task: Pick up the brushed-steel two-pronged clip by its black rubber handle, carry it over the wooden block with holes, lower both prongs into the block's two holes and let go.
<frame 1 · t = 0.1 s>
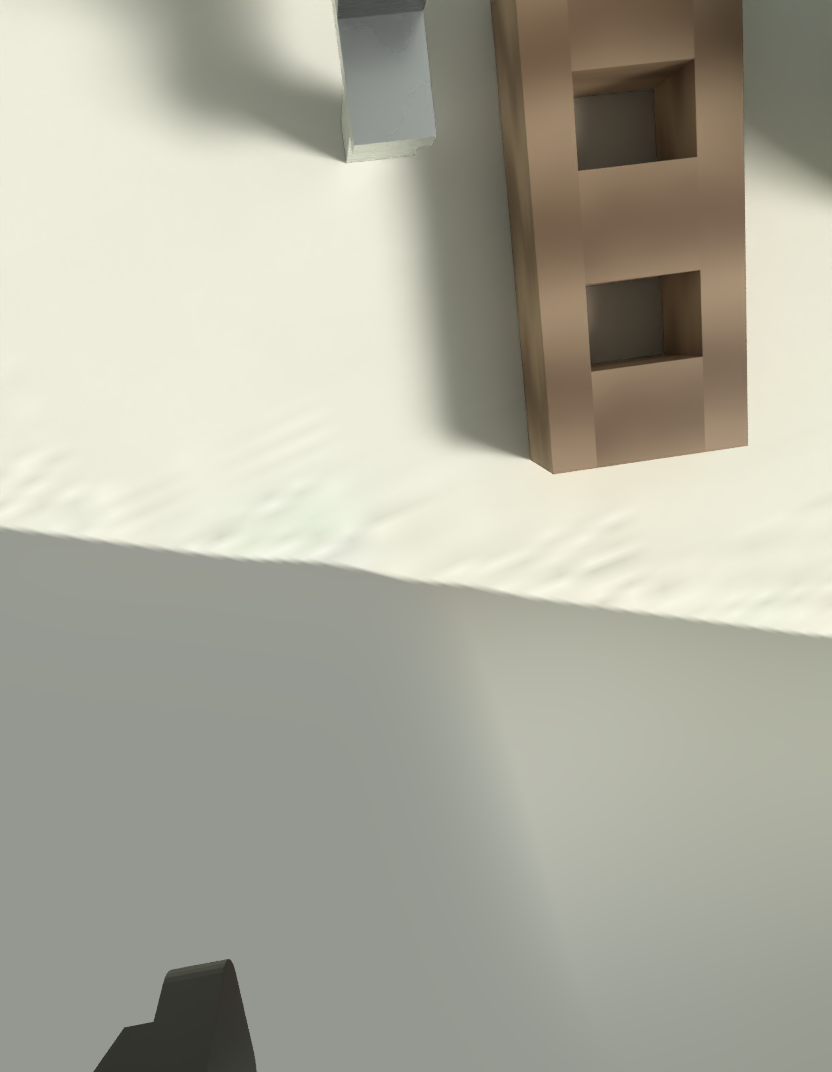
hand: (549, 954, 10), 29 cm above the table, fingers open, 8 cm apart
clip: (365, 36, 33), on the table
wooden block with holes: (607, 233, 36), on the table
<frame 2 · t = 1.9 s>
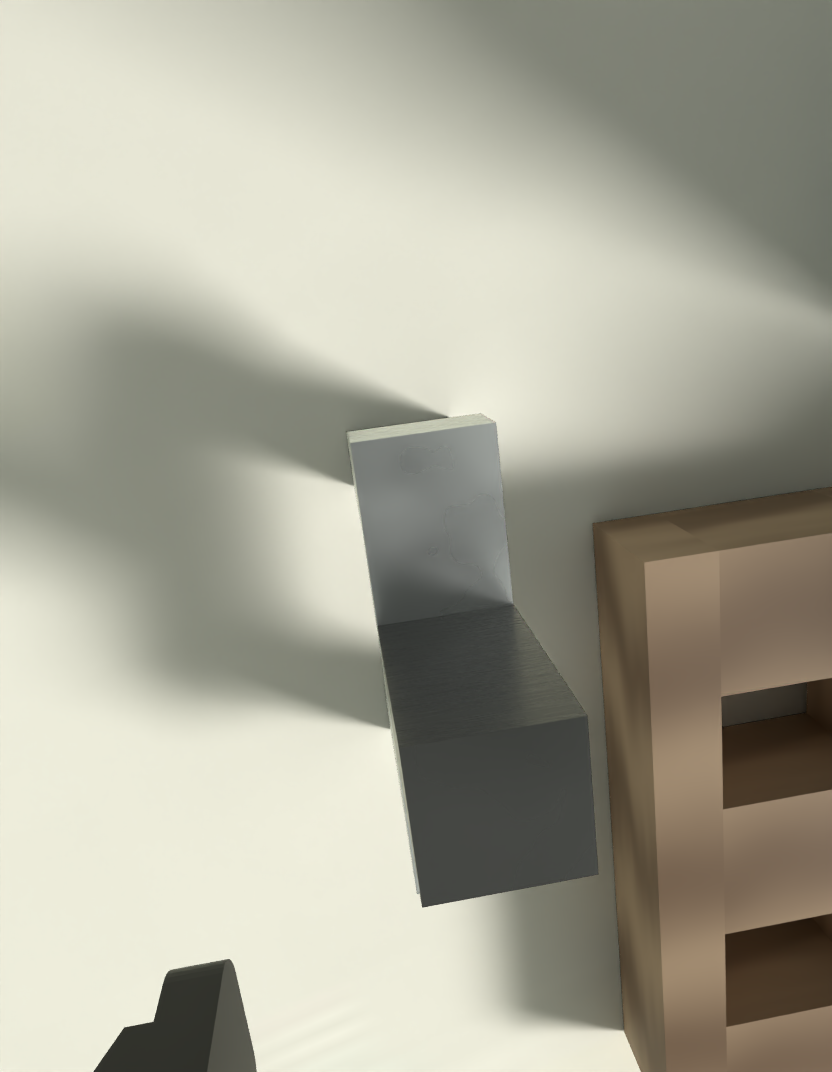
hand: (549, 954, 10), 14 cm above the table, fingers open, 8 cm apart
clip: (418, 581, 24), on the table
wooden block with holes: (736, 781, 27), on the table
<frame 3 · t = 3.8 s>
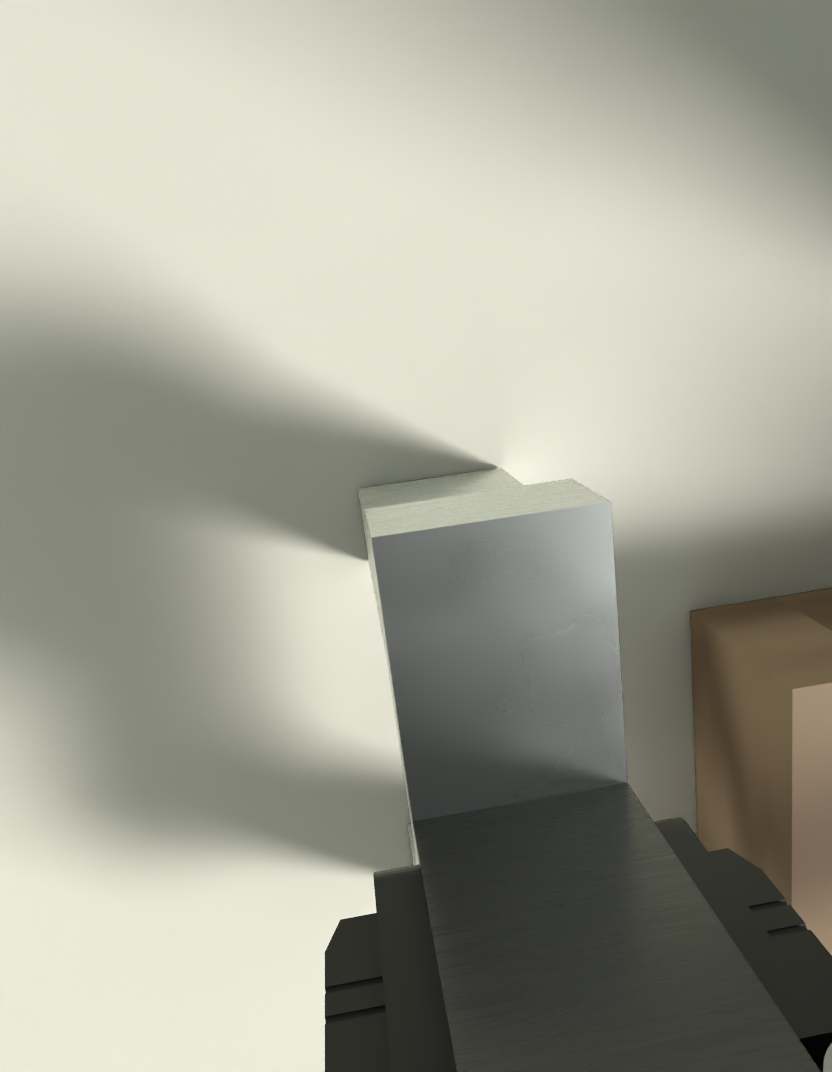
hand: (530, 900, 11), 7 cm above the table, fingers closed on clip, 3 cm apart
clip: (455, 688, 17), on the table, touching gripper
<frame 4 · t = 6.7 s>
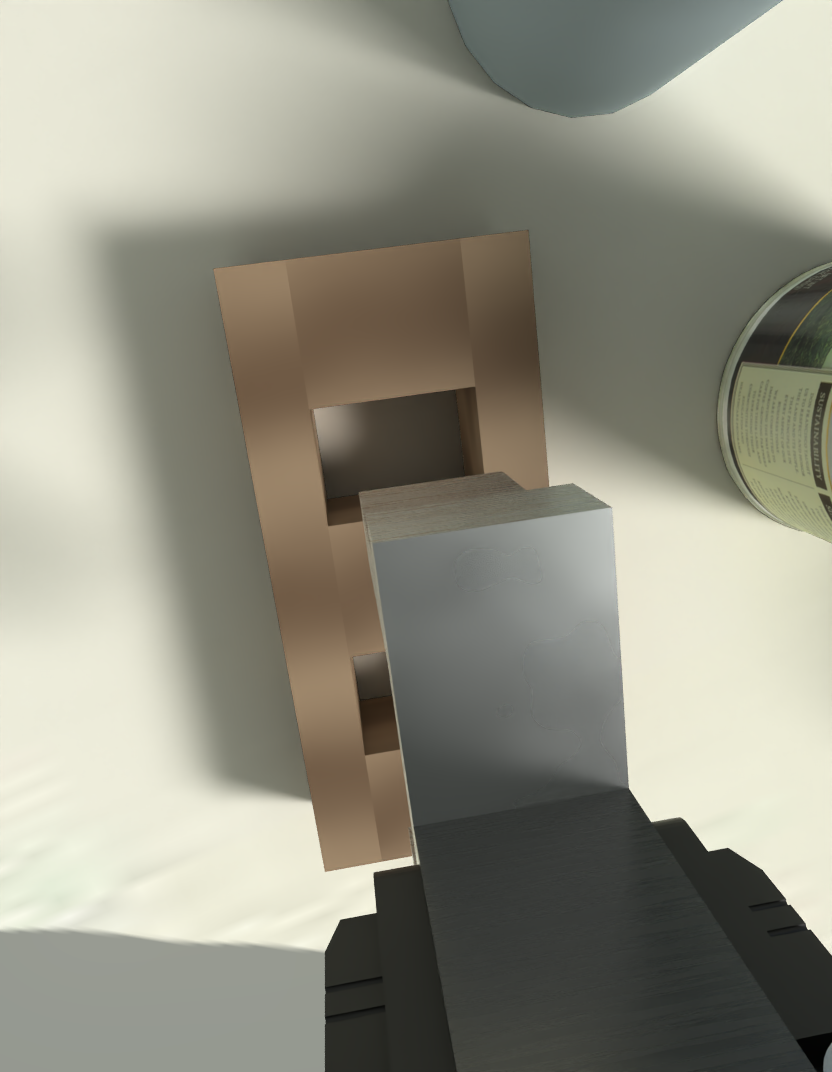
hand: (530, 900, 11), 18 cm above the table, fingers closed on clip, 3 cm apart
clip: (456, 691, 17), point 12 cm above the table, touching gripper
wooden block with holes: (404, 547, 29), on the table
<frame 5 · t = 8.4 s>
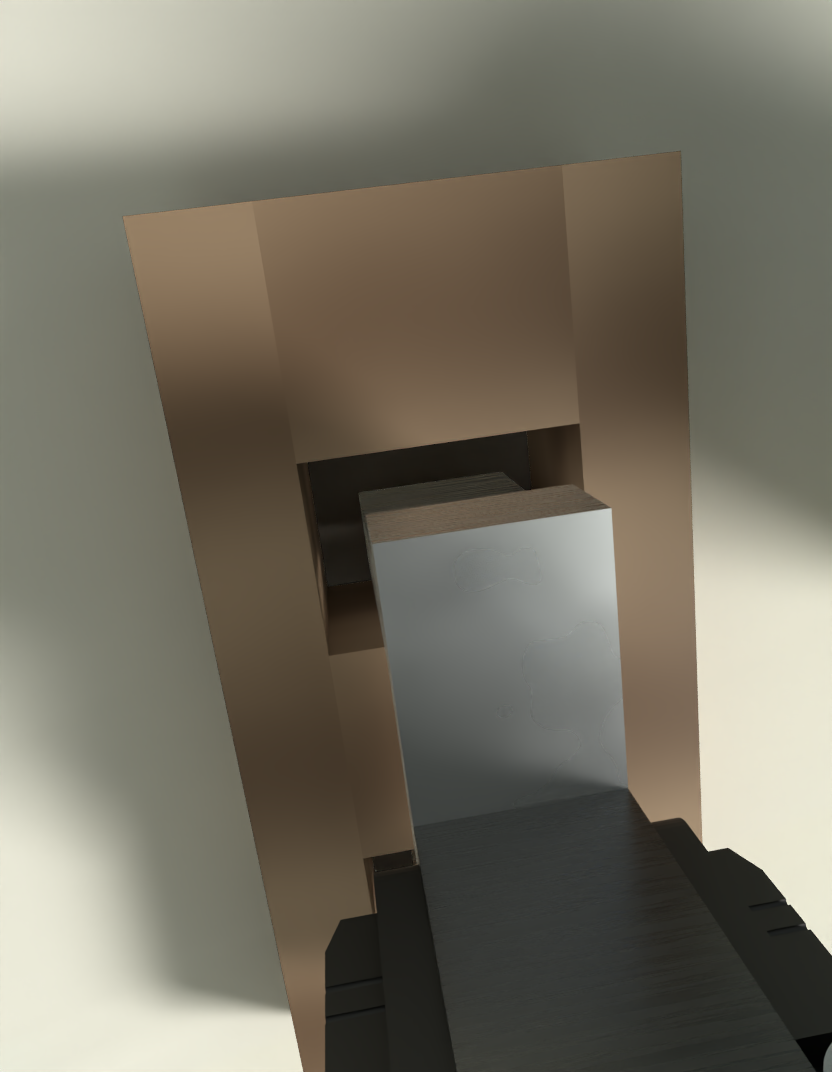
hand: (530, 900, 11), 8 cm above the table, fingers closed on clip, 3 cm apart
clip: (456, 692, 17), point 2 cm above the table, touching gripper
wooden block with holes: (444, 655, 19), on the table
when the fingers open (7 cm above the table, at t = 9.6 s): clip stays where it is, resting in wooden block with holes.
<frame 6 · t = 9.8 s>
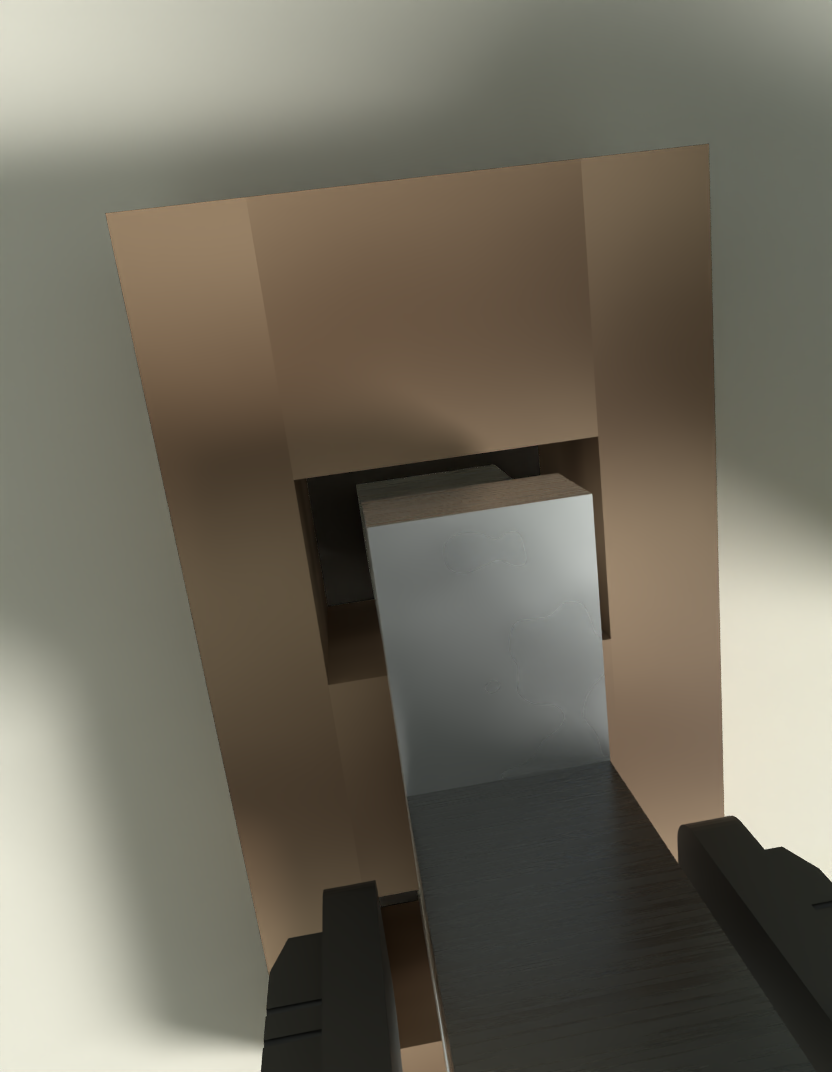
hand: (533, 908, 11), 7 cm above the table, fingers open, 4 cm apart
clip: (450, 677, 18), resting in wooden block with holes
wooden block with holes: (450, 678, 18), on the table
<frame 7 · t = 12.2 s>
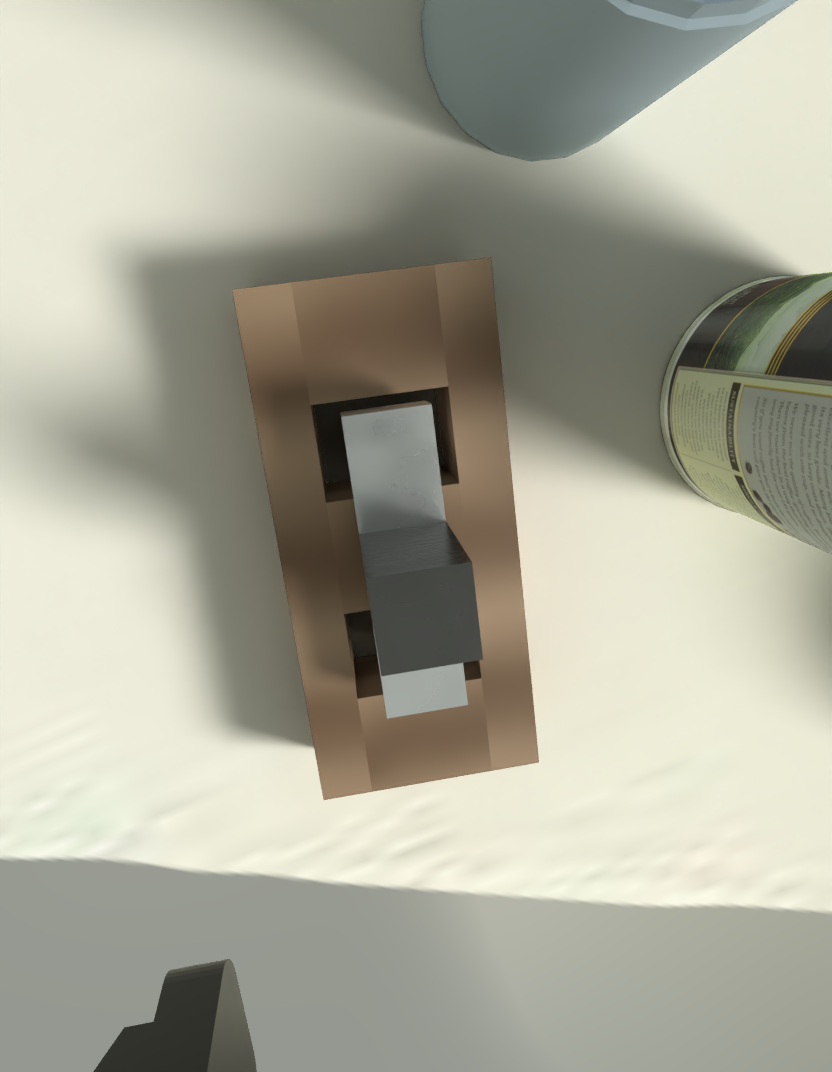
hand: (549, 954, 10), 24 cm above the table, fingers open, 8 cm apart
spray bottle: (537, 33, 30), on the table
clip: (392, 524, 33), resting in wooden block with holes
coffee can: (767, 399, 34), on the table
wooden block with holes: (392, 524, 33), on the table
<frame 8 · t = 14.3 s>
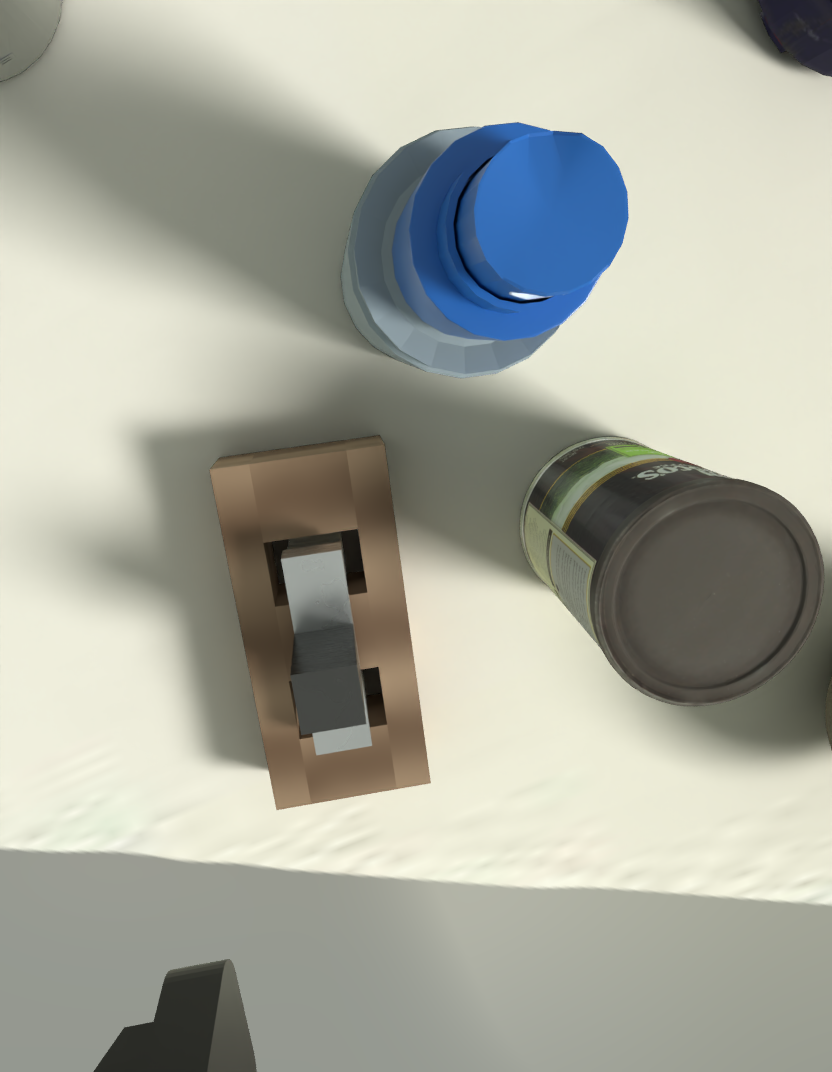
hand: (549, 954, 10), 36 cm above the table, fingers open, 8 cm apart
spray bottle: (422, 280, 43), on the table
clip: (327, 611, 47), resting in wooden block with holes
coffee can: (599, 520, 47), on the table
wooden block with holes: (327, 612, 47), on the table
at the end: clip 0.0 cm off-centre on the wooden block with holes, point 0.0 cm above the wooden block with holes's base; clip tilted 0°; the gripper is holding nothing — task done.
